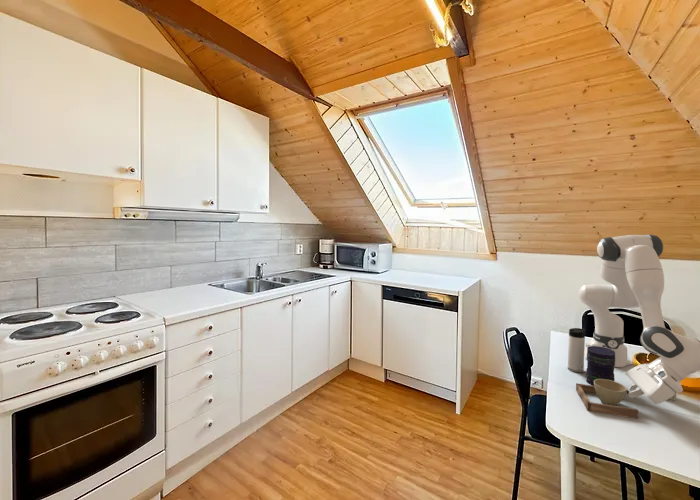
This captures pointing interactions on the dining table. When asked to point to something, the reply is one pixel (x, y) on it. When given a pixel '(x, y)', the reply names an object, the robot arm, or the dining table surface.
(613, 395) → the beige bowl
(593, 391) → the frame
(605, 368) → the storage jar
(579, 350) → the travel mug
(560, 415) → the dining table surface
